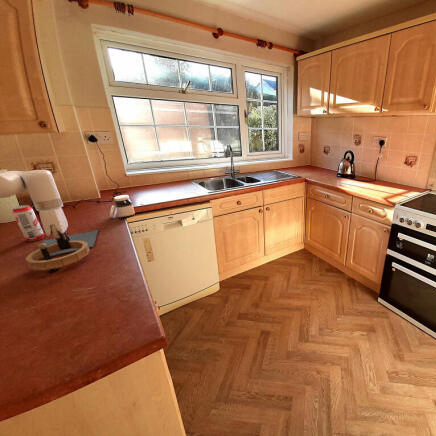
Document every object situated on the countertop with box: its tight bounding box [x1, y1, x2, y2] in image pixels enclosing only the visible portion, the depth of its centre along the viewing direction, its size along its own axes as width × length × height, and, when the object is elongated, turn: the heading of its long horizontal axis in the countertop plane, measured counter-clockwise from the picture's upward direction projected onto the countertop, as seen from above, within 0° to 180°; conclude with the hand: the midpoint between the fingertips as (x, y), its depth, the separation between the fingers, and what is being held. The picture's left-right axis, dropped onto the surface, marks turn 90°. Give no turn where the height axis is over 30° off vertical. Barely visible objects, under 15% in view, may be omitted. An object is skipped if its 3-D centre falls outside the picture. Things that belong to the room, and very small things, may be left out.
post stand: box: [37, 242, 59, 274], centre depth 86 cm, size 3×3×11 cm
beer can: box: [12, 204, 46, 243], centre depth 110 cm, size 6×6×16 cm
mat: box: [36, 229, 99, 260], centre depth 107 cm, size 20×20×1 cm
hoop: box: [24, 241, 91, 271], centre depth 90 cm, size 17×17×3 cm
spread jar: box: [109, 194, 136, 220], centre depth 135 cm, size 12×11×12 cm
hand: (66, 247), depth 97 cm, fingers closed on hoop, 1 cm apart
